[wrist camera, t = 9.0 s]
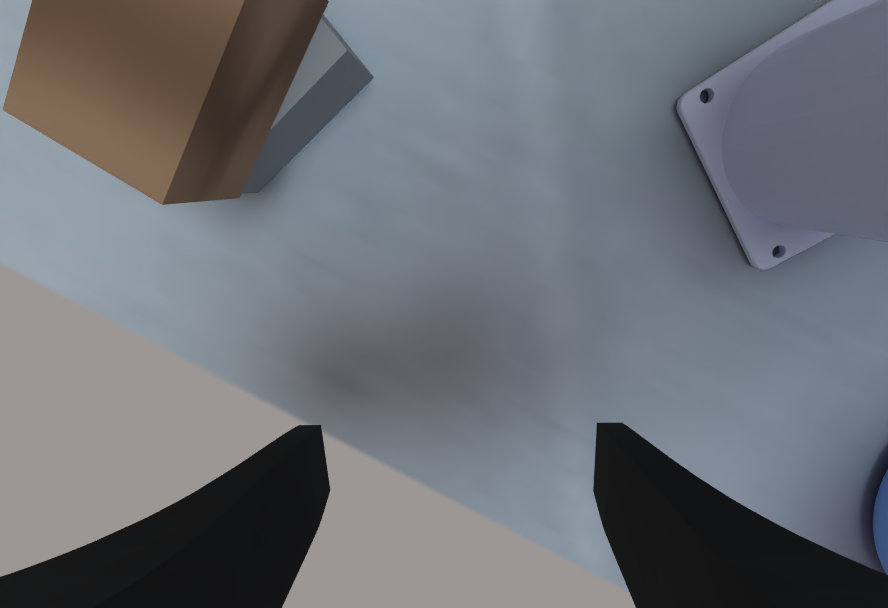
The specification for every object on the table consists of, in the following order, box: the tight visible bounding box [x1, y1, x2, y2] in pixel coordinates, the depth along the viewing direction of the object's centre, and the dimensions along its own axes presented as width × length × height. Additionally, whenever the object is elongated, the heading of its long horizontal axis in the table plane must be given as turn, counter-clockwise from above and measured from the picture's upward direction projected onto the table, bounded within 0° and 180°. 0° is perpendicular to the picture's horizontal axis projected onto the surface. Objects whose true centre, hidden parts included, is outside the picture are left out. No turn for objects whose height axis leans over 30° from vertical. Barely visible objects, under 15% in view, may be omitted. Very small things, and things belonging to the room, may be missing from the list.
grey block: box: [242, 15, 374, 193], centre depth 16 cm, size 7×4×4 cm, turn 130°
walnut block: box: [3, 0, 329, 205], centre depth 12 cm, size 7×4×4 cm, turn 148°
